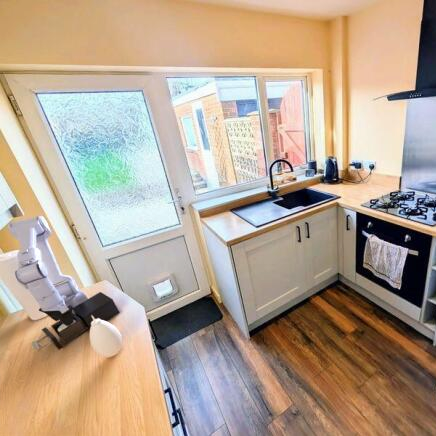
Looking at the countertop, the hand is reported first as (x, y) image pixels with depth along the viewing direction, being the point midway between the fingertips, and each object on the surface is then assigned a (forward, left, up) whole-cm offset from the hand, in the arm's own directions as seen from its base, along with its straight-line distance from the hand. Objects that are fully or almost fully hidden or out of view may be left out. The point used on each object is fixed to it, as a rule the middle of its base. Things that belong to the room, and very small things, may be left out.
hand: (64, 321), depth 92 cm
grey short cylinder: (0, 0, -5) cm, 5 cm away
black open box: (+3, 0, -6) cm, 7 cm away
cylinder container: (+1, -29, -7) cm, 30 cm away
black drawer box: (-9, 0, -7) cm, 12 cm away
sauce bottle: (-3, +25, -7) cm, 26 cm away
